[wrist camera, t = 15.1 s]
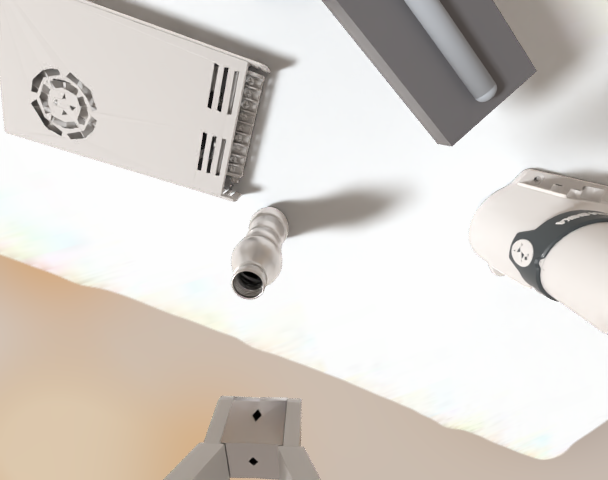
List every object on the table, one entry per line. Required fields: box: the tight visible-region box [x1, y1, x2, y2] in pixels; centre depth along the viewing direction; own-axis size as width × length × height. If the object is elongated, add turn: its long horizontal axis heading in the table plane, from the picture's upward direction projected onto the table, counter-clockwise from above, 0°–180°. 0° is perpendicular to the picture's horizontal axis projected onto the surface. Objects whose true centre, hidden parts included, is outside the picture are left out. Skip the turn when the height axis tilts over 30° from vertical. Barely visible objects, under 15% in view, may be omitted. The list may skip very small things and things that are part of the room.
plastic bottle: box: [231, 207, 289, 299], centre depth 39 cm, size 6×7×20 cm
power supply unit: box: [0, 0, 270, 201], centre depth 40 cm, size 19×33×5 cm, turn 72°
